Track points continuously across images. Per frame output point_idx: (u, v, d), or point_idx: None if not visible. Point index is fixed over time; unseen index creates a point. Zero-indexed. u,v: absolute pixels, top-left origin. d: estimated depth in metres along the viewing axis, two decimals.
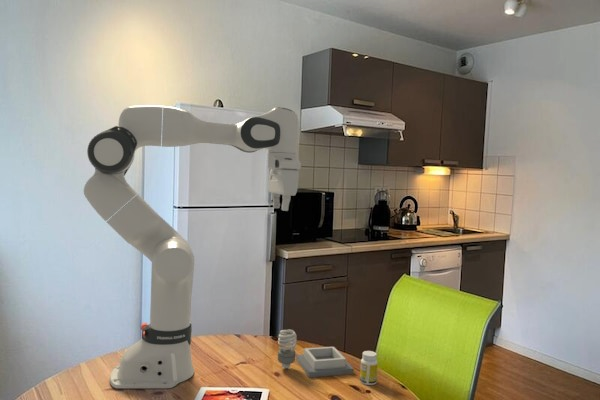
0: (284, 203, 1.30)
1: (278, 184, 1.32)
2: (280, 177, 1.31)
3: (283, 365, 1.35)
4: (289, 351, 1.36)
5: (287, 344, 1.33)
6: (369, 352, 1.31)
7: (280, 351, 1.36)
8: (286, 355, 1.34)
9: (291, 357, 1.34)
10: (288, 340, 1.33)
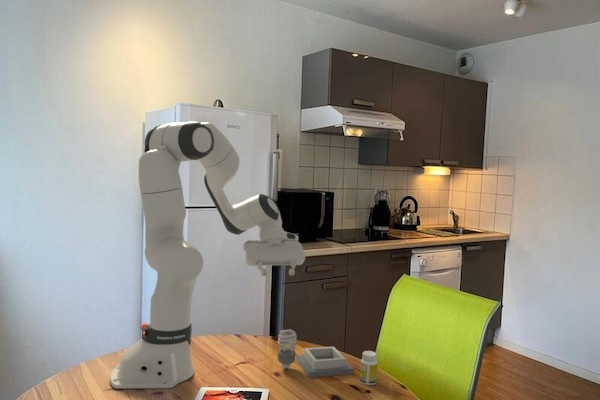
0: (294, 267, 1.52)
1: (284, 252, 1.53)
2: (286, 248, 1.55)
3: (283, 365, 1.35)
4: (289, 351, 1.36)
5: (287, 344, 1.33)
6: (369, 352, 1.31)
7: (280, 351, 1.36)
8: (286, 355, 1.34)
9: (291, 357, 1.34)
10: (288, 340, 1.33)
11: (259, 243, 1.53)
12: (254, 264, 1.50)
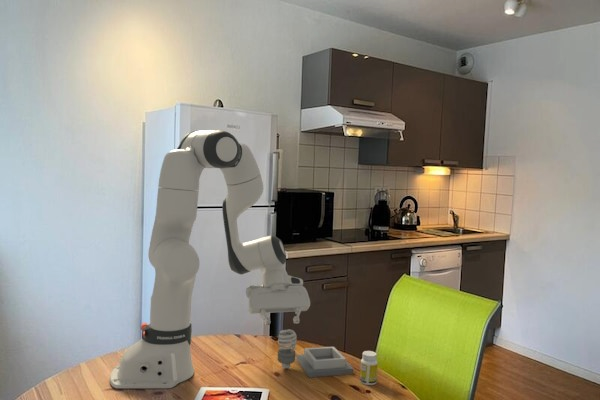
0: None
1: (289, 298, 1.46)
2: (290, 293, 1.48)
3: (283, 365, 1.35)
4: (289, 351, 1.36)
5: (287, 344, 1.33)
6: (369, 352, 1.31)
7: (280, 351, 1.36)
8: (286, 355, 1.34)
9: (291, 357, 1.34)
10: (288, 340, 1.33)
11: (262, 289, 1.46)
12: (257, 312, 1.43)
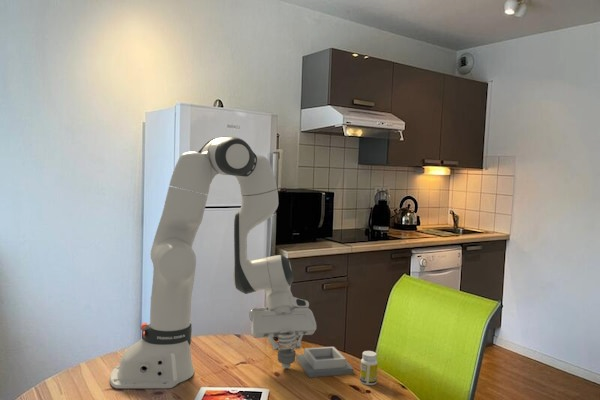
0: None
1: (294, 322, 1.40)
2: (295, 316, 1.42)
3: (283, 365, 1.35)
4: (289, 351, 1.36)
5: (287, 344, 1.33)
6: (369, 352, 1.31)
7: (280, 351, 1.36)
8: (286, 355, 1.34)
9: (291, 357, 1.34)
10: (288, 340, 1.33)
11: (266, 312, 1.40)
12: (261, 336, 1.37)
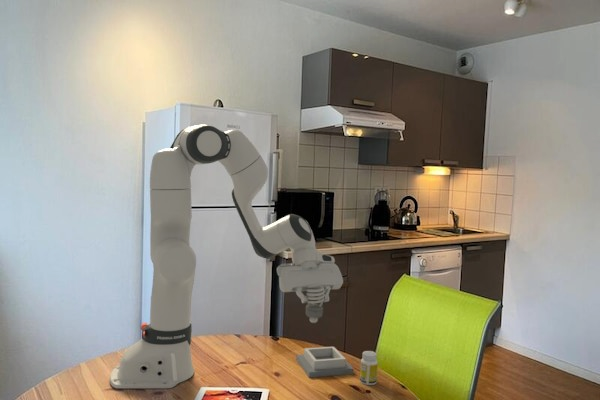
0: (328, 293, 1.40)
1: (321, 276, 1.42)
2: (322, 271, 1.43)
3: (311, 320, 1.37)
4: (317, 306, 1.38)
5: (316, 298, 1.35)
6: (369, 352, 1.31)
7: (308, 305, 1.37)
8: (314, 309, 1.35)
9: (319, 311, 1.36)
10: (317, 294, 1.35)
11: (293, 267, 1.42)
12: (289, 290, 1.39)
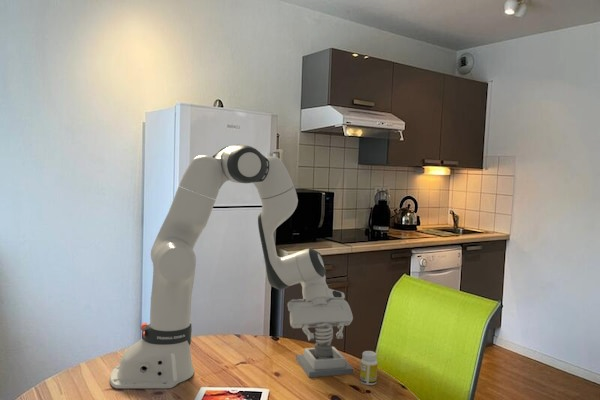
0: (342, 330, 1.41)
1: (331, 313, 1.43)
2: (332, 307, 1.45)
3: (320, 358, 1.38)
4: (326, 344, 1.39)
5: (324, 337, 1.36)
6: (369, 352, 1.31)
7: (317, 344, 1.39)
8: (323, 348, 1.37)
9: (328, 350, 1.37)
10: (325, 333, 1.36)
11: (304, 303, 1.43)
12: (299, 327, 1.40)
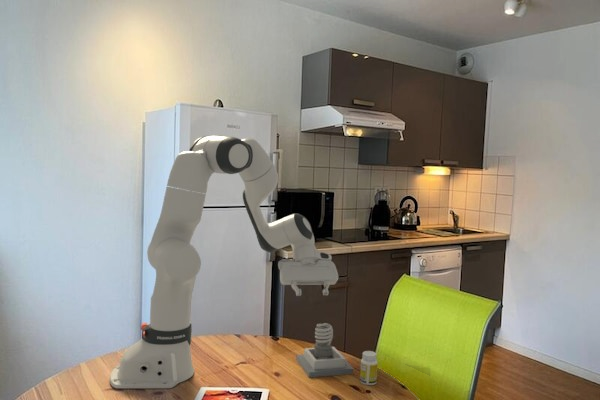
0: (328, 287, 1.53)
1: (318, 272, 1.55)
2: (319, 267, 1.56)
3: (320, 358, 1.38)
4: (326, 344, 1.39)
5: (324, 337, 1.36)
6: (369, 352, 1.31)
7: (317, 344, 1.39)
8: (323, 348, 1.37)
9: (328, 350, 1.37)
10: (325, 333, 1.36)
11: (293, 262, 1.55)
12: (289, 283, 1.52)
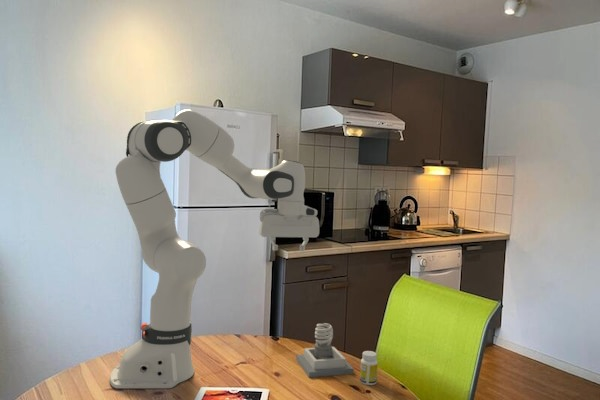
0: None
1: (299, 228, 1.51)
2: (302, 222, 1.51)
3: (320, 358, 1.38)
4: (326, 344, 1.39)
5: (324, 337, 1.36)
6: (369, 352, 1.31)
7: (317, 344, 1.39)
8: (323, 348, 1.37)
9: (328, 350, 1.37)
10: (325, 333, 1.36)
11: (276, 216, 1.48)
12: None
